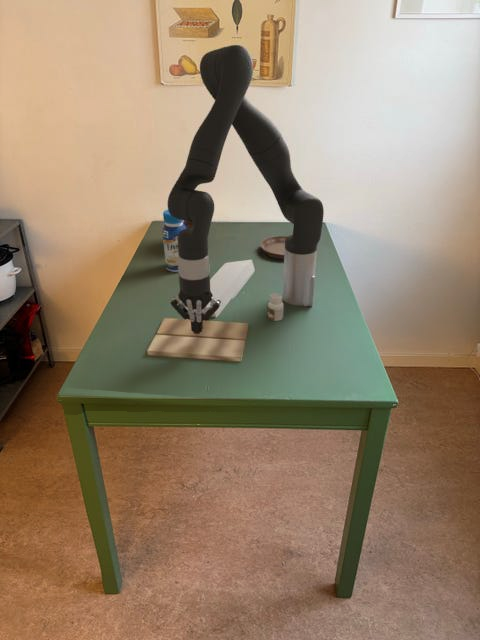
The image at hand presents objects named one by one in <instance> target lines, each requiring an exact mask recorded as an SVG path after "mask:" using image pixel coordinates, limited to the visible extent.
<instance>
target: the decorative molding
mask: <svg viewBox="0 0 480 640" xmlns="http://www.w3.org/2000/svg"><path fill="white" fill-rule="evenodd" d="M255 272H256V269H255V266H254V262H253V259H247V260H238V261H229V262H225V263H224V264H223V265H222V266H221V267H220V268H219V269H218V270H217V271H216V273H215V274H213V276H212V277H210V291H211V293H212V295H213V298H214V299H216V300H220V301H221V303H220V306H219V308H218V309H217V310H216V312H215V313H214V314H213V315H212V316H211V317H210V318H217V317H218V316H219V315H220V314H221V312H222V311H223V310H224V309H225V307H226V306H227V305H228V304H229V302H230V301H231V300H234V299H235V298H236V297H237V295H238V294H239V292H240V291H241V290H242V289H243V288H244V286H245V285H246V283H247V282H248V281H249V280H250V279H251V277H252V276H253V274H254V273H255ZM210 304H211V302H209V304H208V305H207V306H206V307H205V308H204V309H203V314H204V313H206V312H207V310H208V309H209V308H210ZM184 306H185V305H184ZM185 307H186V306H185ZM186 309H187V310H188V308H187V307H186Z"/></svg>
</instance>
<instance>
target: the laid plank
mask: <svg viewBox="0 0 480 640" xmlns="http://www.w3.org/2000/svg"><path fill="white" fill-rule="evenodd" d="M249 325H250V323H248V322H234V321H218V320H207V321H205V320H204V321H203V329H202V332H200V334H194V332H192V330H191V321H190V320H189V319H184V318H170V317H169V318H167V317H164V318H163V319H162V322H161V324H160V326H159V328H158V330H157V331H156V335H168V336H183V337H198V338H213V339H228V340H243V341H245V342H246V340H247V336H248V330H249V327H250V326H249Z"/></svg>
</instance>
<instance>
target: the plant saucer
mask: <svg viewBox="0 0 480 640" xmlns="http://www.w3.org/2000/svg"><path fill="white" fill-rule="evenodd" d="M288 236H289V235H287V236H286V235H278V236H270V237H267V238H265V239H263V240H261V242H260V244H259V245H260V248H261V249H262V251H263V252H264V253H265V255H267V256H269V257H270V258H273V259H278V260H284V253H285V240H286V238H287V237H288Z"/></svg>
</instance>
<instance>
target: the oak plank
mask: <svg viewBox="0 0 480 640" xmlns="http://www.w3.org/2000/svg"><path fill="white" fill-rule="evenodd" d="M245 344H246V341H243V340H228V339H213V338H198V337H183V336H168V335H157V334H155V336H154V337H153V339H152V341H151V343H150V344H149V346H148V348H147V355H148V356H159V357H170V358H171V357H172V358H184V359H185V358H186V359H187V358H189V359H200V360H201V359H202V360H214V361H229V362H242V359H243V354H244V349H245Z"/></svg>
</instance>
